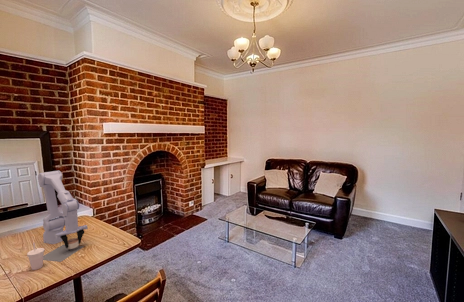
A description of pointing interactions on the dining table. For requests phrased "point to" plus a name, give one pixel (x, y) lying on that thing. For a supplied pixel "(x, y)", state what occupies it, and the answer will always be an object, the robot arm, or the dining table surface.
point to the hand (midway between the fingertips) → (73, 245)
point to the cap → (73, 243)
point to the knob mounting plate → (61, 253)
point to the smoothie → (36, 257)
